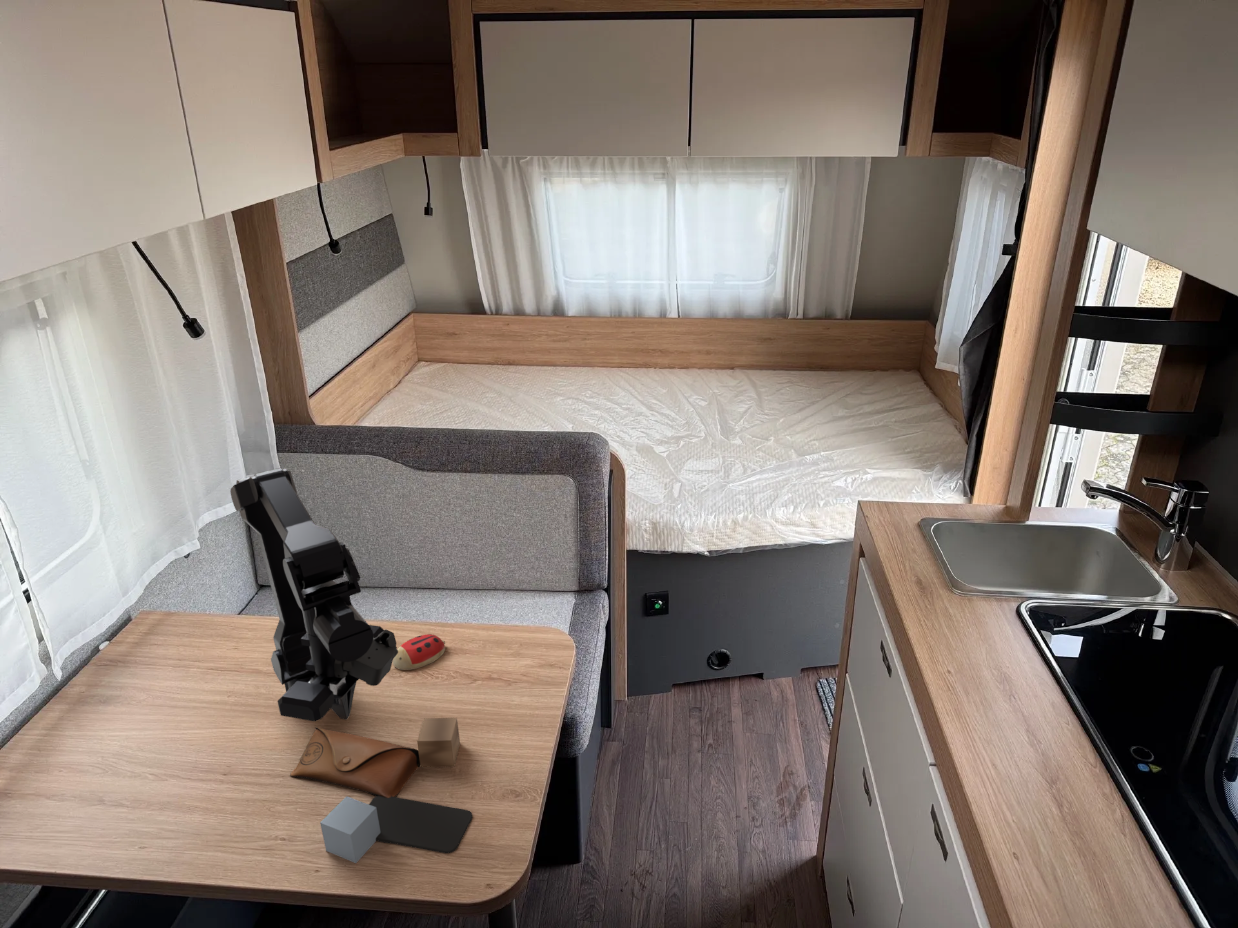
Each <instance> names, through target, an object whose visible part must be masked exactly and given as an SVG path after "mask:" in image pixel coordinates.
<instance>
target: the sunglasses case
mask: <svg viewBox="0 0 1238 928" xmlns="http://www.w3.org/2000/svg"><path fill="white" fill-rule="evenodd" d="M314 728H315V730H314V732H313V734H312V735H311V737H310V739H309V741H308V744H307V746H306V747H305V749H304V751H303V753H302V755H301V757H300V758H299V761H298V763H297V765H296V767H295V768H294V769H293V770H292V771H291V772H290V773H289V774H290V775H289V776H290V777H292V778H300V779H305V780H306V779H307V780H313V781H317V782H322V783H326V784H332V785H336V786H341V787H343V788H344V787H345V788H349V789H354V790H358V791H360V792H364V793H367V794H370V795H373V796H374V797H376V796H378V795H380V796H383V797H386V798H389V797H391V796H392V797H398V795H399V794H400V793H401V791H402V790H403V788H404V787H405V785H406V783H408V781H409V780H410V779H411V777H412V776H413V774H414V773H415V772H416V771H417V769H419V768H421V766H420V759H419V752H418V748H413V747H409V746H408V747H407V746H403V745H399V744H395V743H392V742H387V741H383V740H380V739H377V738H372V737H371V738H370V737H366V736H362V735H357V734H351V733H348V732H342V731H335V730H332V729H331V730H330V729H327V728H321V727H319V726H315V727H314Z"/></svg>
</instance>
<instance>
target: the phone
mask: <svg viewBox="0 0 1238 928" xmlns="http://www.w3.org/2000/svg"><path fill="white" fill-rule="evenodd" d="M368 804H369V805H371V806H374V807H376V809H377V815H378V821H379V826H380V832H381V833H380V834H379V835H378V836H377V837H376V842H380V843H384V844H392V845H396V846H397V845H398V846H404V847H408V848H414V849H419V850H425V851H430V852H436V853H442V854H452V853H454V852H455V851H457V850H458V848H459V846H460V844H461V842H462V839H464V836H465V834H466V833H467V830H468V828H469V826H470V824H471V822H472V820H473V813H472V811H470V810H468V809H463V808H460V807H459V808H458V807H452V806H447V805H442V804H437V803H431V802H426V801H425V802H424V801H419V800H413V799H408V798H403V797H398V796H396V797H392V796H391V797H389V798H386V797H383V796H380V795H378V796H374V797H373V798H372V799H371V801H370V802H369V803H368Z"/></svg>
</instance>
